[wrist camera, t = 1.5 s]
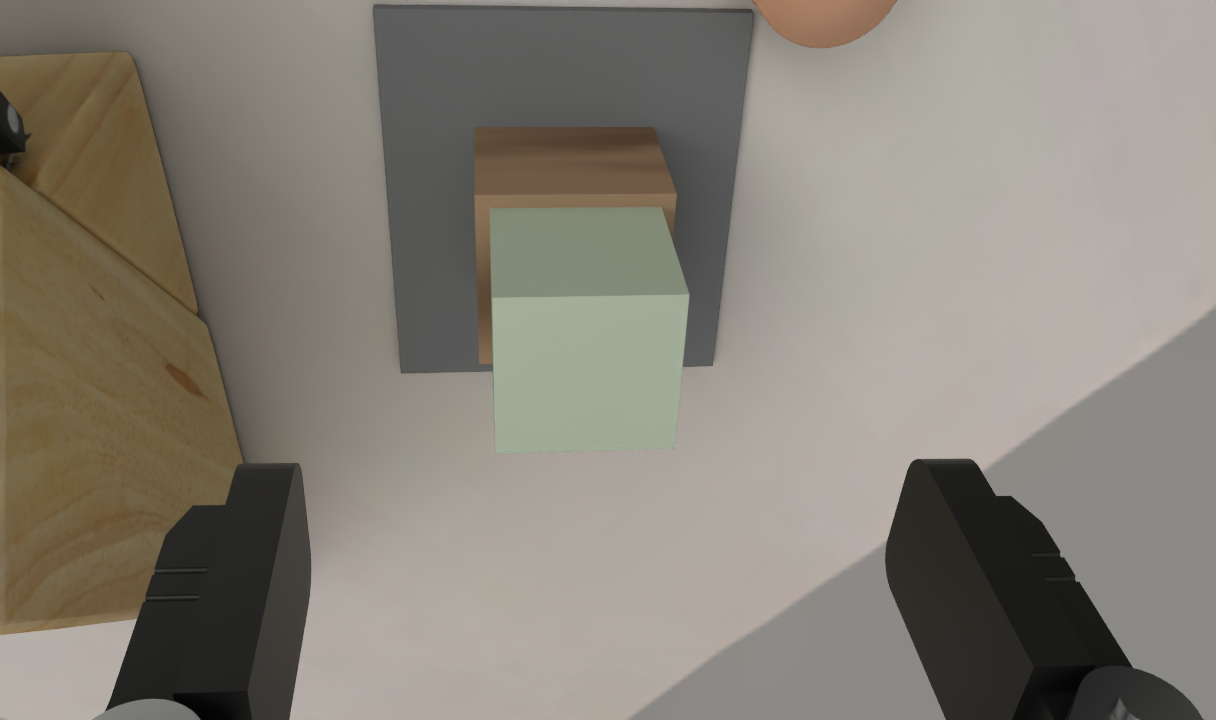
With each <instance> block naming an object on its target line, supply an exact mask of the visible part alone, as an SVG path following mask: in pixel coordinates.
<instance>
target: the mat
mask: <svg viewBox="0 0 1216 720" xmlns="http://www.w3.org/2000/svg"><path fill="white" fill-rule="evenodd" d="M753 16H754V13H753V11H752V10H751V9H690V8H610V7H529V6H448V5H374V6H373V17H374V30H375V43H376V56H377V69H378V82H379V95H380V108H381V121H382V134H383V147H384V160H385V173H386V185H387V198H388V211H389V224H390V237H391V250H392V263H393V276H394V289H395V302H396V315H397V328H398V341H399V354H400V367H401V373H439V372H481V371H493V364H479V340H478V304H477V269H476V234H475V199H474V127H653V128H654V131H655V133H656V136H657V139H658V142H659V145H660V148H661V151H662V153H663V156H664V159H665V162H666V165H667V168H668V170H669V173H670V176H671V179H672V182H673V185H674V187H675V190H676V193H677V197H676V208H675V220H674V232H673V244H674V247H675V251H676V254H677V257H678V260H679V263H680V266H681V269H682V273H683V276H684V279H685V282H686V285H687V288H688V291H689V294H690V295H689V305H688V315H687V326H686V336H685V346H684V356H683V367H693V366H713V360H714V351H715V342H716V334H717V325H718V317H719V308H720V299H721V291H722V282H723V274H724V265H725V256H726V248H727V239H728V231H729V222H730V213H731V205H732V196H733V188H734V179H735V170H736V162H737V153H738V145H739V136H740V127H741V119H742V110H743V102H744V93H745V84H746V76H747V67H748V59H749V50H750V41H751V33H752V24H753Z"/></svg>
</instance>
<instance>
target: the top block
mask: <svg viewBox="0 0 1216 720" xmlns="http://www.w3.org/2000/svg"><path fill="white" fill-rule="evenodd" d="M489 214H490V264H491V313H492V360H493V395H494V431H495V454H506V453H538V452H570V451H601V450H633V449H664V448H675V438H676V428H677V418H678V408H679V397H680V387H681V377H682V367H683V356H684V346H685V336H686V326H687V315H688V305H689V295H690V294H689V291H688V288H687V285H686V282H685V279H684V276H683V273H682V269H681V266H680V263H679V260H678V257H677V254H676V251H675V247H674V244H673V241H672V238H671V235H670V232H669V229H668V225H667V222H666V219H665V216H664V213H663V210H662V207H574V208H489Z"/></svg>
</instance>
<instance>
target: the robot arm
mask: <svg viewBox="0 0 1216 720" xmlns="http://www.w3.org/2000/svg"><path fill="white" fill-rule="evenodd" d="M885 563H886V573H887V579H888V583H889V587H890V589H891V592H892V594H893V597H894V599H895V601H896V603H897V606H898V608H899V610H900V613H901V615H902V618H903V620H904V622H905V624H906V627H907V629H908V632H909V634H910V636H911V639H912V641H913V643H914V646H915V648H916V650H917V653H918V655H919V658H920V660H921V662H922V665H923V667H924V669H925V671H926V674H927V676H928V679H929V681H930V683H931V686H932V688H933V690H934V693H935V695H936V697H937V700H938V702H939V704H940V707H941V709H942V711H943V714H944V716H945V718H946V720H1203V718H1202V717H1201V715H1200V713H1199V712H1198V710H1197V709H1196V707H1195V706H1194V705H1193V704H1192V702H1191V701H1190V700H1189V699H1188V698H1187V697H1186V696H1185V695H1184V694H1182V693H1181V692H1180V691H1179V690H1178V689H1176V688H1175V687H1174V686H1172V685H1171V684H1169V683H1168V682H1166V681H1164V680H1163V679H1161V678H1159V677H1157V676H1155V675H1153V674H1150V673H1148V672H1145V671H1142V670H1139V669H1135V668H1133V667H1132V665H1131V664H1130V662H1129V661H1128V659H1127V657H1126V656H1125V654H1124V653H1123V651H1122V649H1121V648H1120V646H1119V645H1118V643H1117V642H1116V640H1115V638H1114V637H1113V635H1112V633H1111V632H1110V630H1109V629H1108V627H1107V625H1106V624H1105V622H1104V621H1103V619H1102V617H1101V616H1100V614H1099V613H1098V611H1097V609H1096V608H1095V606H1094V605H1093V603H1092V601H1091V600H1090V598H1089V597H1088V595H1087V593H1086V592H1085V590H1084V589H1083V587H1082V585H1081V584H1080V582H1076V581H1075V574H1074V573H1073V571H1072V570H1071V568H1070V566H1069V565H1068V563H1067V561H1066V560H1065V558H1064V557H1063V558H1061V557H1060V550H1059V549H1058V547H1057V545H1056V544H1055V542H1054V541H1053V539H1052V537H1051V536H1050V534H1049V533H1048V531H1047V529H1046V528H1045V526H1044V525H1043V523H1042V522H1041V521H1040V520H1039V519H1038V518H1036V517H1035V516H1034V515H1033V514H1032V513H1031V512H1029V511H1028V510H1027V509H1026V508H1024V507H1023V506H1022V505H1021V504H1020V503H1018V502H1017V501H1016V500H1015V499H1014V498H1013V497H1011V496H996V495H995V493H994V492H993V490H992V488H991V487H990V485H989V483H988V482H987V480H986V478H985V477H984V475H983V473H982V471H981V470H980V468H979V467H978V465H977V464H976V463H975V462H974V461H973V460H971V459H916V460H914V461H913V462H912V463H911V464H910V466H909V468H908V471H907V474H906V477H905V481H904V484H903V488H902V491H901V495H900V498H899V502H898V505H897V509H896V512H895V516H894V519H893V523H892V526H891V530H890V533H889V537H888V540H887V545H886V554H885ZM154 569H155V572H154V575H152V577H151V580H150V583H149V586H148V589H147V592H146V595H145V596H146V599H145V602H143V604H142V606H141V609H140V612H139V615H138V618H137V621H136V624H135V627H134V630H133V633H132V636H131V639H130V642H129V645H128V648H127V651H126V654H125V657H124V660H123V663H122V666H121V669H120V672H119V675H118V678H117V681H116V684H115V687H114V690H113V693H112V696H111V699H110V701H109V704H108V706H107V708H106V710H105V712H104V713H102V714H100V715H99V716H97V717H95V718H94V719H93V720H289V718H290V712H291V706H292V700H293V694H294V688H295V682H296V676H297V670H298V664H299V658H300V652H301V646H302V640H303V634H304V628H305V622H306V616H307V610H308V604H309V597H310V587H311V551H310V542H309V533H308V524H307V515H306V505H305V496H304V487H303V478H302V471H301V467H300V465H299V464H298V463H264V464H238V465H237V467H236V469H235V472H234V476H233V479H232V483H231V486H230V490H229V493H228V497H227V501H226V504H225V505H193V506H192V507H191V508H190V509H189V510H188V511H187V512H186V513H185V514H184V516H183V517H182V518H181V519H180V520H179V521H178V522H177V523H176V524H175V525H174V526H173V527H172V528H171V529H170V531H169V532H168V533H167V534H166V535H165V538H164V541H163V544H162V547H161V550H160V553H159V556H158V559H157V562H156V565H155V568H154Z"/></svg>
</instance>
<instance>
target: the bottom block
mask: <svg viewBox="0 0 1216 720" xmlns="http://www.w3.org/2000/svg"><path fill="white" fill-rule="evenodd" d="M676 197H677V193H676V190H675V187H674V185H673V182H672V179H671V176H670V173H669V170H668V168H667V165H666V162H665V159H664V156H663V153H662V151H661V148H660V145H659V142H658V139H657V136H656V133H655V131H654V128H653V127H474V199H475V234H476V269H477V304H478V340H479V364H493V360H492V313H491V264H490V214H489V208H574V207H662V210H663V213H664V216H665V219H666V222H667V225H668V229H669V232H670V235H671V238H672V241H673V232H674V220H675V208H676Z"/></svg>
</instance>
